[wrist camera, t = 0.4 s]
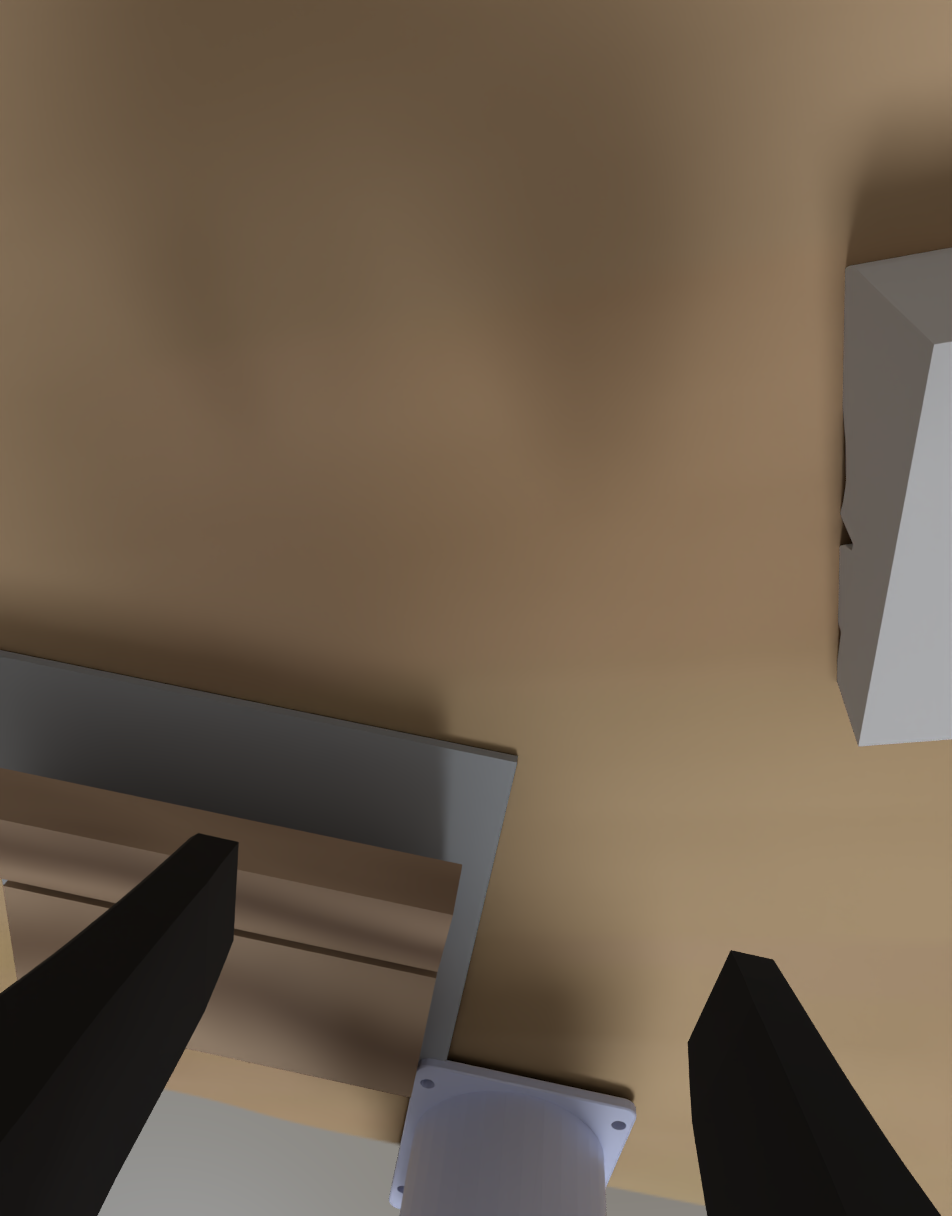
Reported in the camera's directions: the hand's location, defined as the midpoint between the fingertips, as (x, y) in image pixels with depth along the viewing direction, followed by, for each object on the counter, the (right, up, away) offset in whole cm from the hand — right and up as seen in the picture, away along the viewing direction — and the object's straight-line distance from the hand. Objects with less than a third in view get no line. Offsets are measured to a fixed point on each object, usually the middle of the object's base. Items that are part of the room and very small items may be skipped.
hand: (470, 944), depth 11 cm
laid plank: (-8, -7, +15) cm, 19 cm away
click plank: (-7, -2, +11) cm, 13 cm away
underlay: (-8, -4, +14) cm, 16 cm away
